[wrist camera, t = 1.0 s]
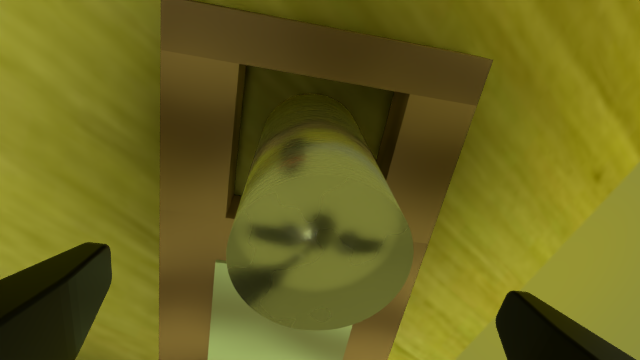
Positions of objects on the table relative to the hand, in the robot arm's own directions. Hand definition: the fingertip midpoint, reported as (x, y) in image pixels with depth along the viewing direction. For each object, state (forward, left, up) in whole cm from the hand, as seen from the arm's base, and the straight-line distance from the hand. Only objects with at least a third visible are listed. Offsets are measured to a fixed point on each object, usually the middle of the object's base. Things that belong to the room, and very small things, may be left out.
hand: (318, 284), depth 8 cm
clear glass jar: (0, 0, -10) cm, 10 cm away
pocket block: (-4, 0, -10) cm, 10 cm away
